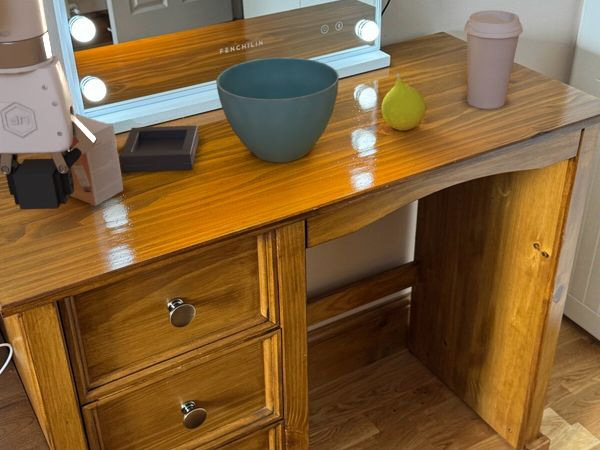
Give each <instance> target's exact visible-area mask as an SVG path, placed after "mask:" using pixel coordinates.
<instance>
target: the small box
mask: <svg viewBox="0 0 600 450" xmlns="http://www.w3.org/2000/svg"><path fill="white" fill-rule="evenodd" d="M76 118H77V119H78V120H79V121H80V122H81V123H82V125H83V126H84V127H85V128H86V129H87V130H88V131H89V132H90V133H91V134H92V135H93V136H94V137H95V138H96V143H95V145H94V146H93V148H91V149H90V150H89V151H87V152H86V153H85V154H83V155H82V156H80V158H79V159H78V160H77V161H76V162H75V163H74V164H73V165H72V167H71V170H72V176H73V181H74V192H73V194H71V195H70V197H72V198H75V199H77V200H80V201H82V202H85V203H88V204H89V205H91V206H94V207H97V206H98V205H100V204H102V203H104V202H106V201H107V200H109V199H111V198H112V197H114V196H116V195H119V194H120V193H122V192H123V191H124V184H123V178H122V177H123V176H122V169H121V163H120V156H119V152H118V146H117V139H116V133H115V132H116V131H115V126H114V124H112V123H107V122H103V121H100V120H97V119H93V118H90V117H87V116H83V115H80V114H78V113H76ZM78 143H79V141H78V139H77V138H76V137H73V141H72V145H71V146H70V147H69V149H70V150H71V149H72V148H73V146H74V145H77V144H78ZM50 157H51V158H50V159H53V158H52V156H51V155H50Z"/></svg>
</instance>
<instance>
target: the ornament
mask: <svg viewBox="0 0 600 450" xmlns="http://www.w3.org/2000/svg"><path fill="white" fill-rule="evenodd" d="M396 68H397V70H399V69H398V66H396ZM395 75H396V82H395V84H394V85H393V87H391V89H390V90H389V91H388V92H387V93H386V95H385V96H384V97H383V100H382V103H381V108H380V109H381V115H382V118H383V120H384V121H385V123H386V124H387V125H388V126H389V127H391V128H392V129H395V130H398V131H408V130H412V129H415V128H416V127H417V126H418V125H419V124H420V123H421V122H422V121H423V119H424V117H425V114H426V109H427V108H426V101H425V99H424V97H423V95H422V94H421V92H419V91H418V90H417V89H415V88H414V87H412V86H410V85H408V84H406V83H405V82H404V81H403V80H402V79H403V78H402V77H401V73H399V72H398V73H396V74H395Z"/></svg>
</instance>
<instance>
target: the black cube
mask: <svg viewBox="0 0 600 450" xmlns="http://www.w3.org/2000/svg"><path fill="white" fill-rule="evenodd" d="M20 164H21V165H20V166H19V168H18V169H17V170H16V172H15V173H14V175H13V178H14V182H15V187H16V192H17V196H18V201H19V209H20V210H59V209H60V207H61V205H62V204H61V203H60V202H59V197H58V192H57V187H56V181H55V173H56V172H57V168H56V165H55V163H54V160H53V159H52V158H24V159H23V160H22V162H20Z"/></svg>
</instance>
